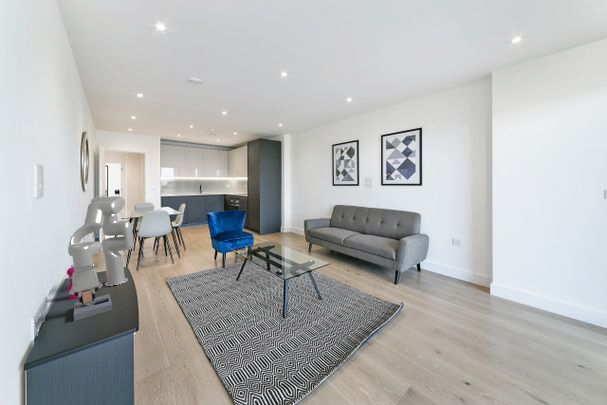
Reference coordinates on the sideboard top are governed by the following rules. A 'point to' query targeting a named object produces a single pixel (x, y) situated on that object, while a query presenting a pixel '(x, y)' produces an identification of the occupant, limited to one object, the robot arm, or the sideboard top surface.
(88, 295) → the keyhole peg
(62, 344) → the sideboard top surface
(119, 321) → the sideboard top surface
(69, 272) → the pepper mill
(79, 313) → the keyhole board
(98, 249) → the robot arm
